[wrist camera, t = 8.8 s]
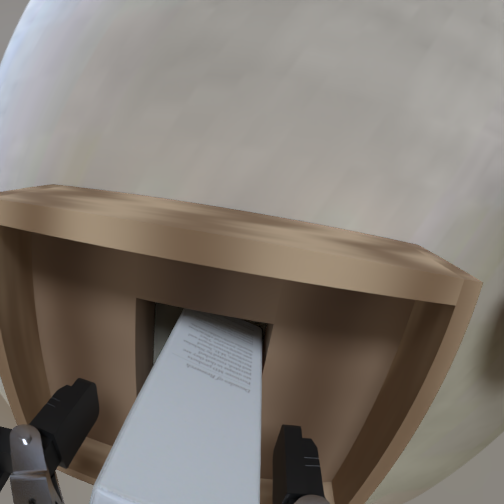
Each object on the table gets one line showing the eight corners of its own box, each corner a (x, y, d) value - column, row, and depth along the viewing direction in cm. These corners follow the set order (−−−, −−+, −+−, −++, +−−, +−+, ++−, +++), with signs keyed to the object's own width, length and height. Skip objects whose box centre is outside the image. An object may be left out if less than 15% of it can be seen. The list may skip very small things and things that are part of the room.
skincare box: (221, 402, 18) (187, 582, 6) (156, 373, 18) (76, 541, 6) (267, 325, 17) (264, 545, 5) (192, 290, 16) (84, 484, 5)
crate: (417, 244, 15) (483, 282, 9) (334, 458, 19) (346, 523, 13) (52, 184, 15) (-24, 196, 9) (68, 405, 19) (31, 456, 13)
